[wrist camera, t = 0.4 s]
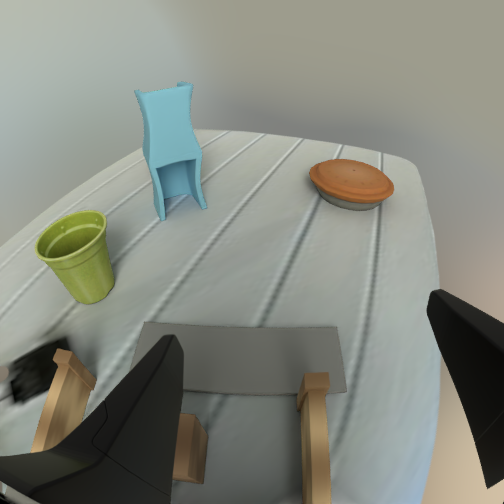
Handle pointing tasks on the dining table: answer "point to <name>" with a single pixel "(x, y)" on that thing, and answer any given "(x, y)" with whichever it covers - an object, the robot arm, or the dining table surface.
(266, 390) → the mat
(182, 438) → the block
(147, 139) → the wavy blue tube
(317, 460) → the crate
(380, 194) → the pie
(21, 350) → the dining table surface
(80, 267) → the plant pot
